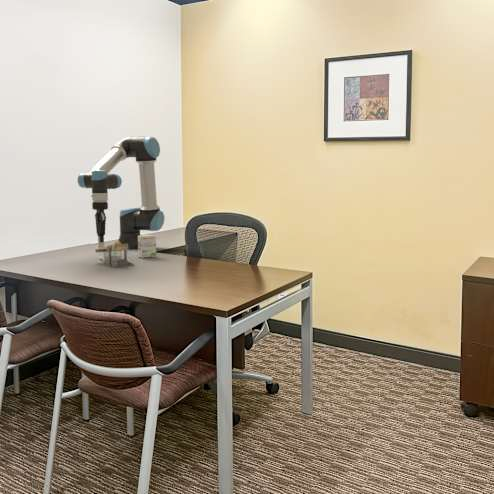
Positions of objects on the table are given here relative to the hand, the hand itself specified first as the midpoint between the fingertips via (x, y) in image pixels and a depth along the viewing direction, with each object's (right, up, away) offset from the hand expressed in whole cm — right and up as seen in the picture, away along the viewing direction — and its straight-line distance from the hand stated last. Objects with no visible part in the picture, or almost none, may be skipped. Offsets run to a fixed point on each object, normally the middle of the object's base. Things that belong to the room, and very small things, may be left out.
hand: (101, 248), depth 283 cm
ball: (+9, +3, -4) cm, 10 cm away
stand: (+9, -8, -2) cm, 12 cm away
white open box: (+2, -6, +11) cm, 12 cm away
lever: (+6, -1, -4) cm, 7 cm away
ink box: (+20, -5, +18) cm, 27 cm away
